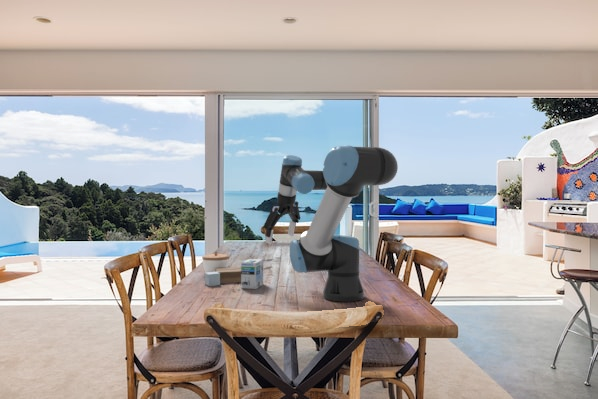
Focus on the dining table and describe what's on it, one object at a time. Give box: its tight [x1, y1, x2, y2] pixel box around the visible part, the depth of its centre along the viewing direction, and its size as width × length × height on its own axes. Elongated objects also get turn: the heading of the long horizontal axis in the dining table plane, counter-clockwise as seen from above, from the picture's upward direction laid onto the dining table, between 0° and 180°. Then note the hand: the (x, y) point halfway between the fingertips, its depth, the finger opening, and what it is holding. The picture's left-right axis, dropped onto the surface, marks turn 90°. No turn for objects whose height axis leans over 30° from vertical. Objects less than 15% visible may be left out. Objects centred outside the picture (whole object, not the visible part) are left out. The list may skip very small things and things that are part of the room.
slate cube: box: [204, 271, 221, 287], centre depth 189 cm, size 5×5×5 cm
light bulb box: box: [240, 258, 264, 290], centre depth 185 cm, size 11×7×11 cm, turn 168°
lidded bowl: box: [202, 251, 230, 273], centre depth 211 cm, size 13×13×11 cm
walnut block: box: [215, 266, 241, 284], centre depth 199 cm, size 12×12×5 cm
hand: (279, 239), depth 188 cm, fingers open, 13 cm apart
